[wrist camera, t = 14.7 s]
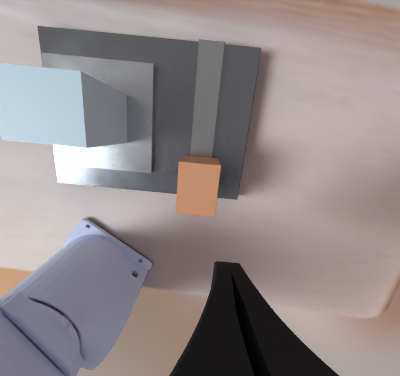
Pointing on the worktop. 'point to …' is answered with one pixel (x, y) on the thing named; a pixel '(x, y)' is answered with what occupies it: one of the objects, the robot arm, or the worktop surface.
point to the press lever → (197, 185)
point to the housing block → (60, 108)
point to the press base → (159, 106)
